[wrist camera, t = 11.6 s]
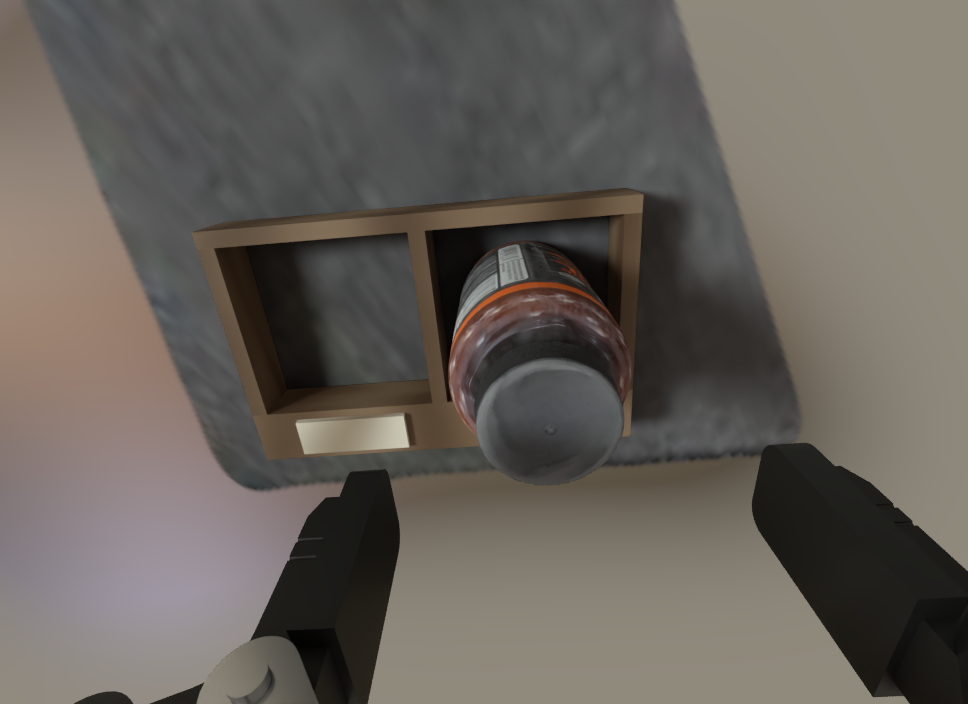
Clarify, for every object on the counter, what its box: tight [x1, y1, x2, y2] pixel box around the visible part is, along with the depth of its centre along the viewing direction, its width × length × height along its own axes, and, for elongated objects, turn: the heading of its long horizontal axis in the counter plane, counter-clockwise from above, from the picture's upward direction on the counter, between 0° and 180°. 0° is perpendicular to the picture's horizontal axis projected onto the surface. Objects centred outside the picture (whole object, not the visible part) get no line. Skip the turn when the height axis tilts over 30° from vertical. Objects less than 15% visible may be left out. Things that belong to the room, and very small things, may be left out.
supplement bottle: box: [448, 241, 632, 485], centre depth 17 cm, size 6×6×11 cm
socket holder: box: [191, 188, 644, 460], centre depth 22 cm, size 18×11×3 cm, turn 95°
